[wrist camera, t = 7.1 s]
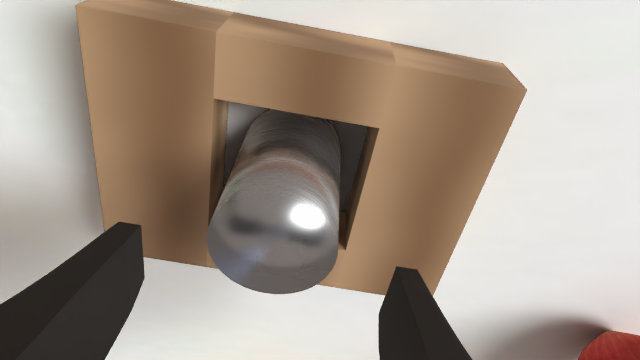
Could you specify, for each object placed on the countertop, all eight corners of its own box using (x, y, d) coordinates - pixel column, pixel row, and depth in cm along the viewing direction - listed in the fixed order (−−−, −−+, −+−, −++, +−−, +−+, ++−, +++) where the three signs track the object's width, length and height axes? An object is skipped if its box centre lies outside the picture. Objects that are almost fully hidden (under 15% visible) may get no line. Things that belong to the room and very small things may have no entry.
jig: (130, 214, 21) (106, 251, 19) (112, -11, 15) (75, 5, 13) (421, 262, 22) (429, 302, 19) (503, 63, 16) (527, 89, 14)
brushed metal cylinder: (243, 182, 20) (207, 285, 15) (246, 98, 17) (205, 185, 12) (333, 195, 20) (327, 301, 15) (348, 113, 17) (348, 205, 12)
